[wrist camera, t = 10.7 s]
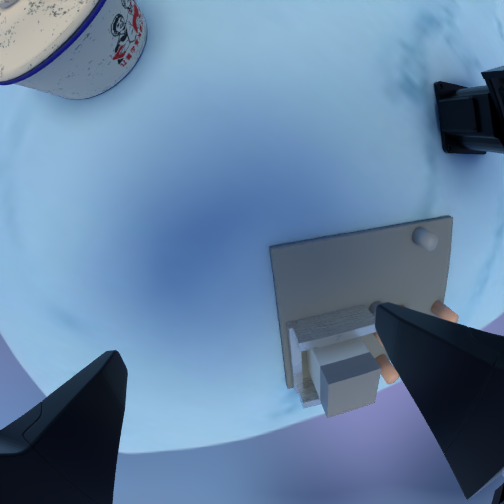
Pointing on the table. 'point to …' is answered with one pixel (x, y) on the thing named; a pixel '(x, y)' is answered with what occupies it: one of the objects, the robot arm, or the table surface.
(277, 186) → the table surface
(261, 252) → the table surface
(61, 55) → the teacup with lid
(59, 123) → the table surface
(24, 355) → the table surface
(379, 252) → the mat
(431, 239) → the pegs
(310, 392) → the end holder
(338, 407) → the block
